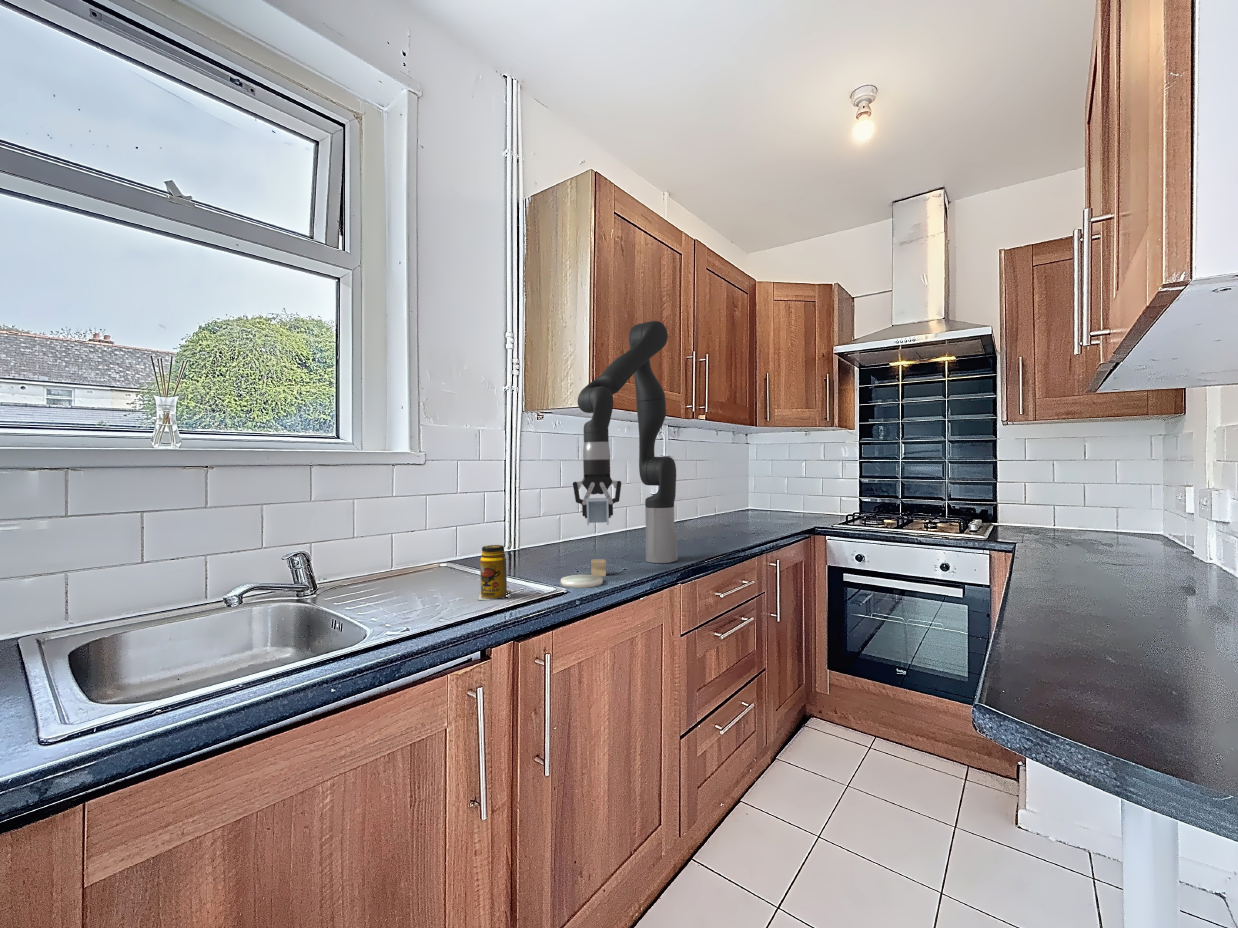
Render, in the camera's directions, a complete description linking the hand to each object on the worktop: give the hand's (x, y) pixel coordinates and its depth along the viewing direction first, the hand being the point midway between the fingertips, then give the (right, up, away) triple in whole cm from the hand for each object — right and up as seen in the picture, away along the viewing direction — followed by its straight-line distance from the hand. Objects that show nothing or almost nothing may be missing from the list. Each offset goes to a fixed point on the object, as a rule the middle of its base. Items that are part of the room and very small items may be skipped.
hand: (597, 517), depth 157 cm
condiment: (-24, -17, -24) cm, 38 cm away
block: (0, -16, 0) cm, 16 cm away
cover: (0, -2, 0) cm, 2 cm away
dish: (-4, -16, -12) cm, 20 cm away
